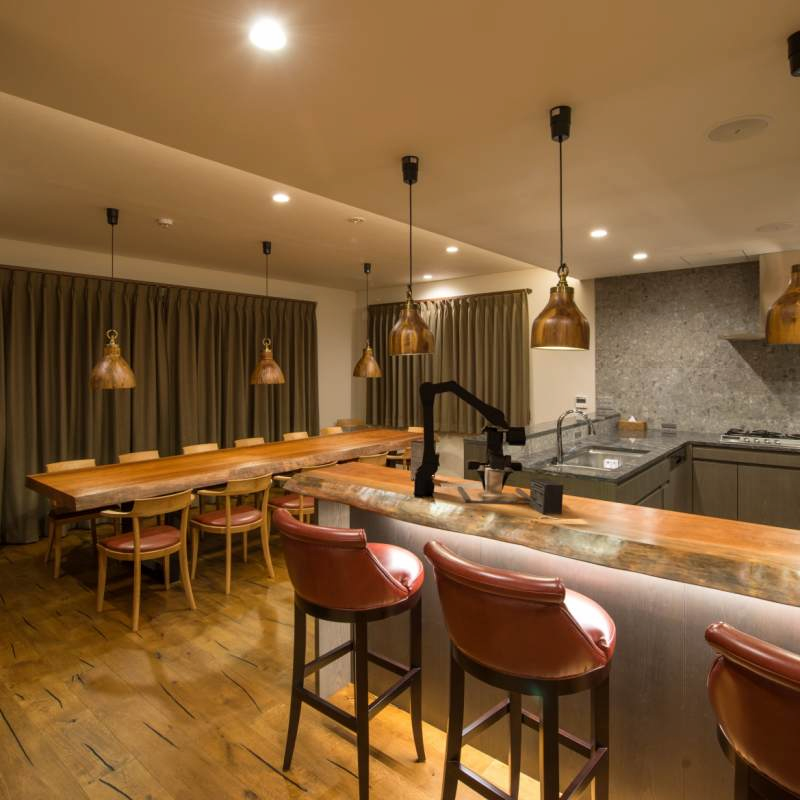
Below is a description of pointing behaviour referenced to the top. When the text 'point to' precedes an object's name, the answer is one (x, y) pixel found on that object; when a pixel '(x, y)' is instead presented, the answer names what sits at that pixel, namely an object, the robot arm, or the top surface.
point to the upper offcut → (498, 497)
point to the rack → (518, 490)
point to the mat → (461, 485)
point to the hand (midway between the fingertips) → (492, 490)
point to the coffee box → (417, 455)
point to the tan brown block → (493, 481)
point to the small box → (546, 496)
